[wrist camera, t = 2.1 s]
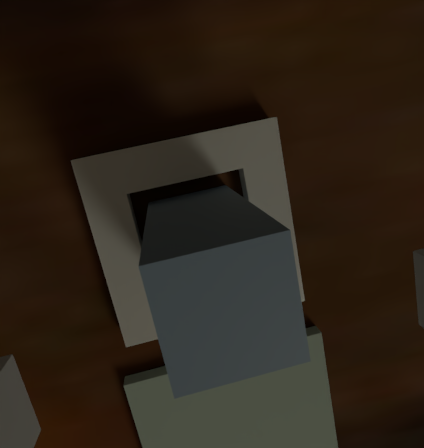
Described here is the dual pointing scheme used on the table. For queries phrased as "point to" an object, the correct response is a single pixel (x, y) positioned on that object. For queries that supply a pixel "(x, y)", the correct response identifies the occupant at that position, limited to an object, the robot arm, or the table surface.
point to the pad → (239, 409)
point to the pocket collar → (165, 175)
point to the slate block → (221, 290)
